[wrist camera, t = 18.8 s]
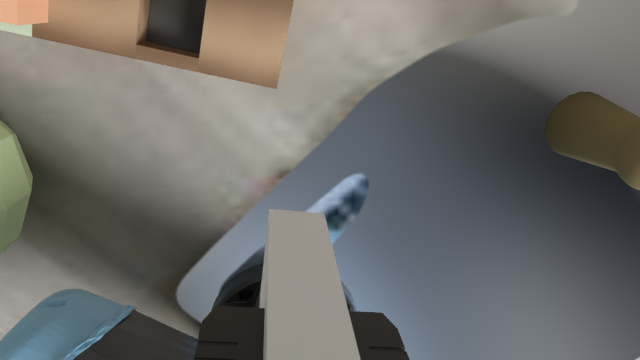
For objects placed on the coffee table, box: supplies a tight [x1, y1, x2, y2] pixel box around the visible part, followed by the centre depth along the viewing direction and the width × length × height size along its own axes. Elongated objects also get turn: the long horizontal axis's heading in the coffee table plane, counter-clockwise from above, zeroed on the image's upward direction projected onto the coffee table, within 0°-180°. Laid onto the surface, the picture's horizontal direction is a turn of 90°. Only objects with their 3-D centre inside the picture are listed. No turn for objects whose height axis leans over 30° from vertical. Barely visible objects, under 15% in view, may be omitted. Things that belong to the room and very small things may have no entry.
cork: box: [545, 92, 640, 190], centre depth 36 cm, size 6×6×11 cm
